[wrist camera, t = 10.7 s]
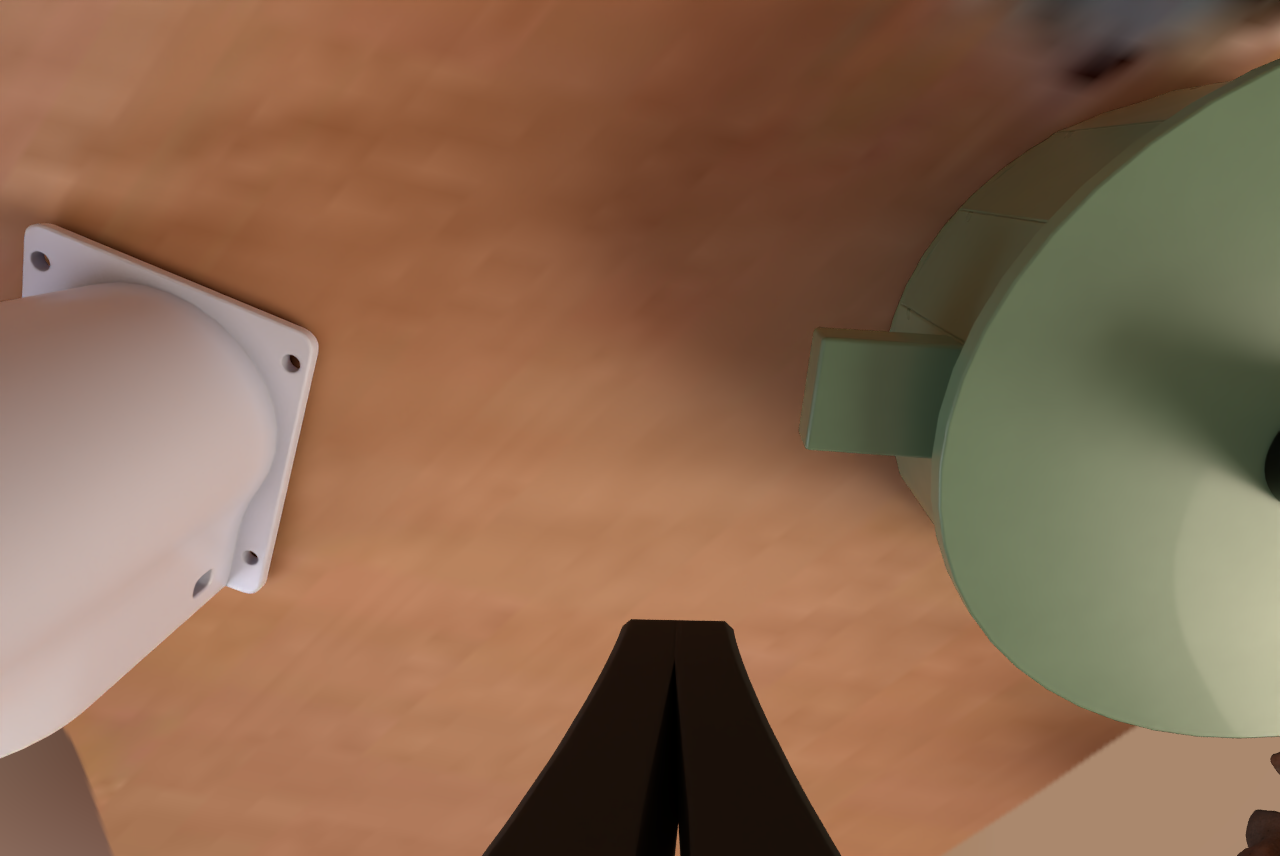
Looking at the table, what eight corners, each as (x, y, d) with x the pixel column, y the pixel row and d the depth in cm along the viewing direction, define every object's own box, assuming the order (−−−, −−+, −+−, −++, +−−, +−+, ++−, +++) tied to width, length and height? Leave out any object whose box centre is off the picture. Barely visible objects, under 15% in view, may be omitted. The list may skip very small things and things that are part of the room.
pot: (1375, 589, 19) (1627, 743, 14) (755, 539, 19) (777, 666, 14) (1647, 113, 14) (2182, 81, 9) (817, 76, 15) (881, 28, 10)
